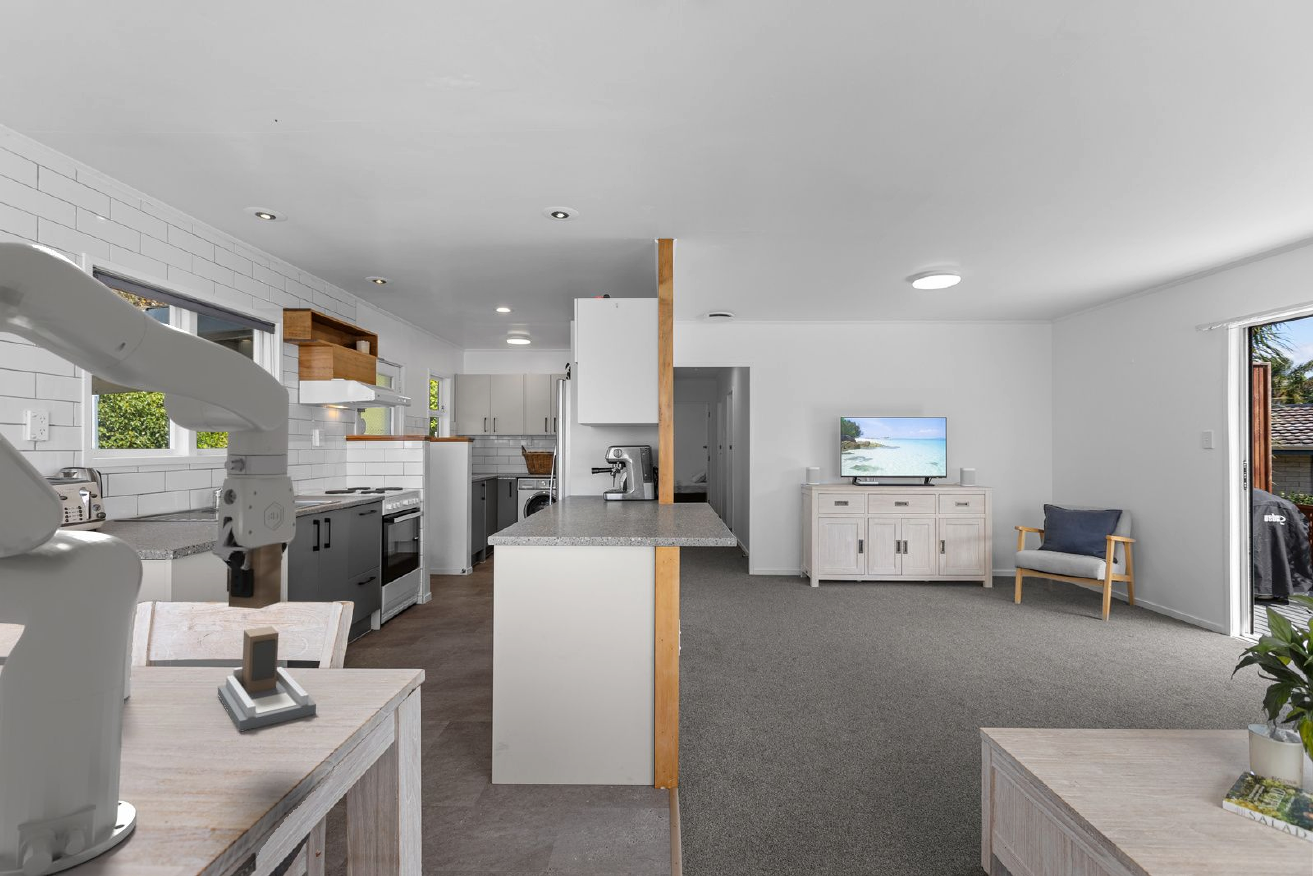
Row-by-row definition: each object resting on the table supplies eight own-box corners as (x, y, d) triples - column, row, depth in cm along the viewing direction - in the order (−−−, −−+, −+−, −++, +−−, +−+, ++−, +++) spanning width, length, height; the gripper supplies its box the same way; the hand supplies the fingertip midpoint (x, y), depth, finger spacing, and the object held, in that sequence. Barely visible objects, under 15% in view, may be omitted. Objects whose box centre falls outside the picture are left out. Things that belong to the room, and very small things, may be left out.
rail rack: (315, 714, 98) (318, 645, 98) (239, 731, 91) (242, 657, 92) (286, 682, 111) (288, 621, 112) (217, 695, 104) (220, 631, 105)
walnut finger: (259, 609, 90) (260, 545, 90) (223, 606, 91) (224, 543, 91) (280, 601, 94) (281, 541, 94) (245, 599, 95) (247, 539, 95)
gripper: (232, 470, 84) (229, 609, 84) (320, 465, 100) (318, 582, 100) (183, 469, 85) (180, 606, 85) (278, 464, 101) (275, 579, 101)
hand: (255, 591), depth 92 cm, fingers closed on walnut finger, 4 cm apart
